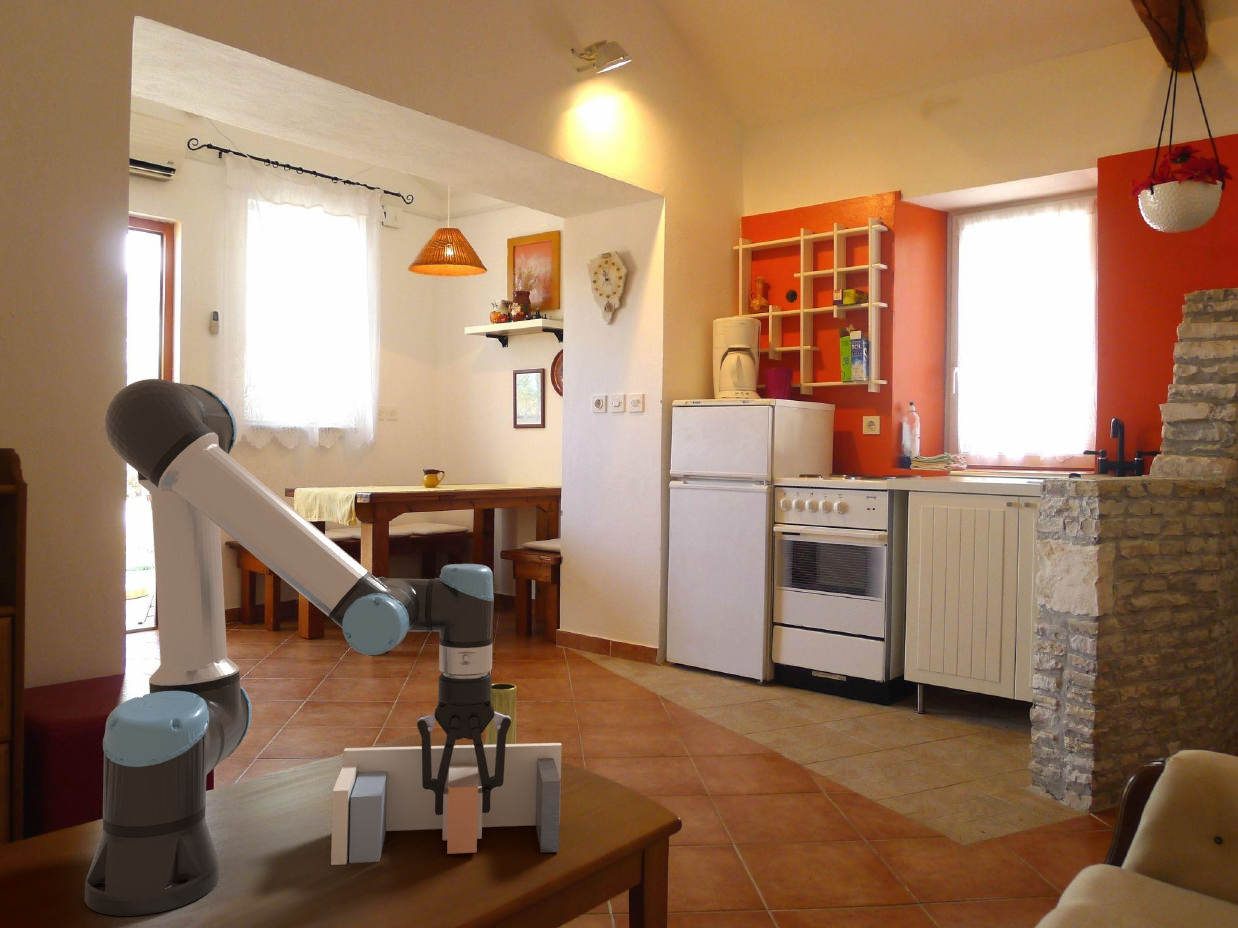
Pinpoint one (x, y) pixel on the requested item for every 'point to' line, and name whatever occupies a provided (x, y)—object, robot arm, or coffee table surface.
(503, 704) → the vase
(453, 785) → the rust book
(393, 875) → the coffee table surface
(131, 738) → the robot arm
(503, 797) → the white upright backboard
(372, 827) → the blue book
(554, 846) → the bookend
